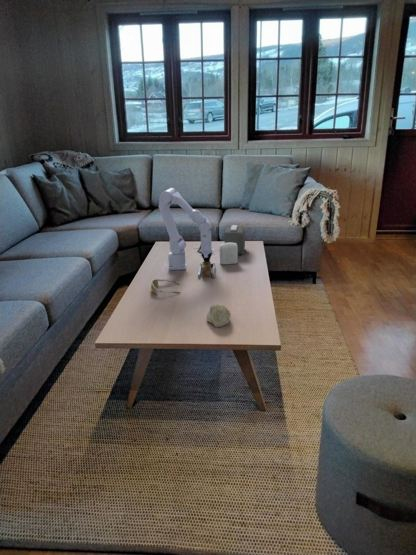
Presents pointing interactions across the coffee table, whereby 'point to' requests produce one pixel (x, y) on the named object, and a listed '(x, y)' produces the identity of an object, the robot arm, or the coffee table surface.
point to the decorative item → (218, 315)
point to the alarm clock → (235, 237)
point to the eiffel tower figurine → (200, 250)
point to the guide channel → (211, 268)
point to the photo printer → (228, 253)
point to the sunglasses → (155, 283)
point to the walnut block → (206, 269)
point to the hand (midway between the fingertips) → (207, 265)
